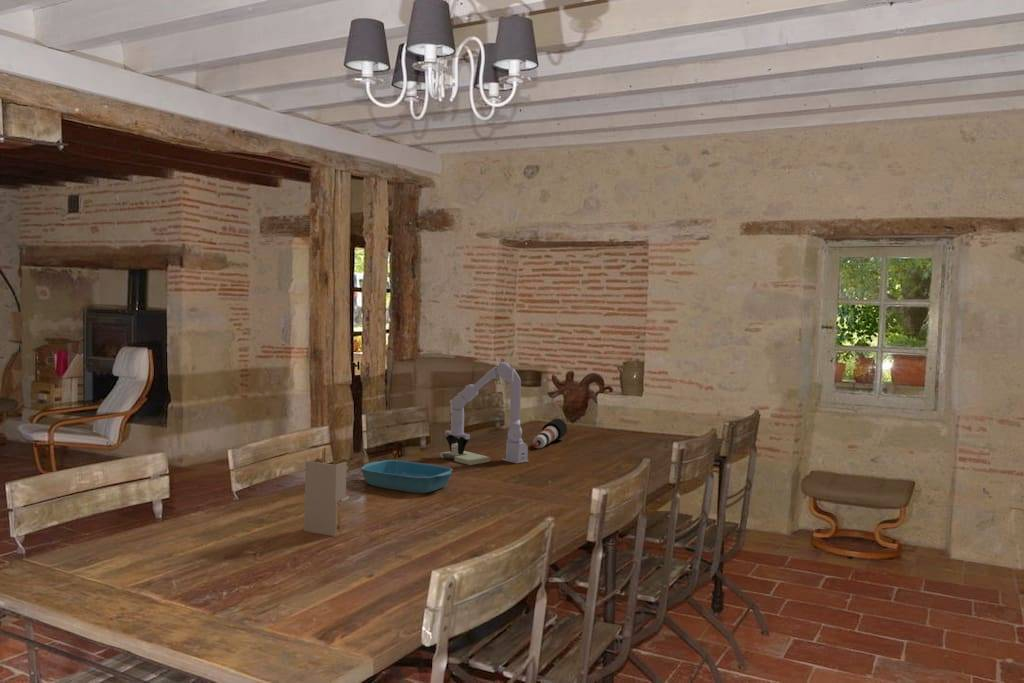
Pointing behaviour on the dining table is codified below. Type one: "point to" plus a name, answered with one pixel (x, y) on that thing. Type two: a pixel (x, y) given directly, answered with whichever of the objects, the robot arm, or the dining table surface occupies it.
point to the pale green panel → (467, 458)
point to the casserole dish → (406, 475)
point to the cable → (550, 433)
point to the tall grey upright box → (324, 495)
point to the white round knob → (455, 450)
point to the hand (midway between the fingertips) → (456, 453)
